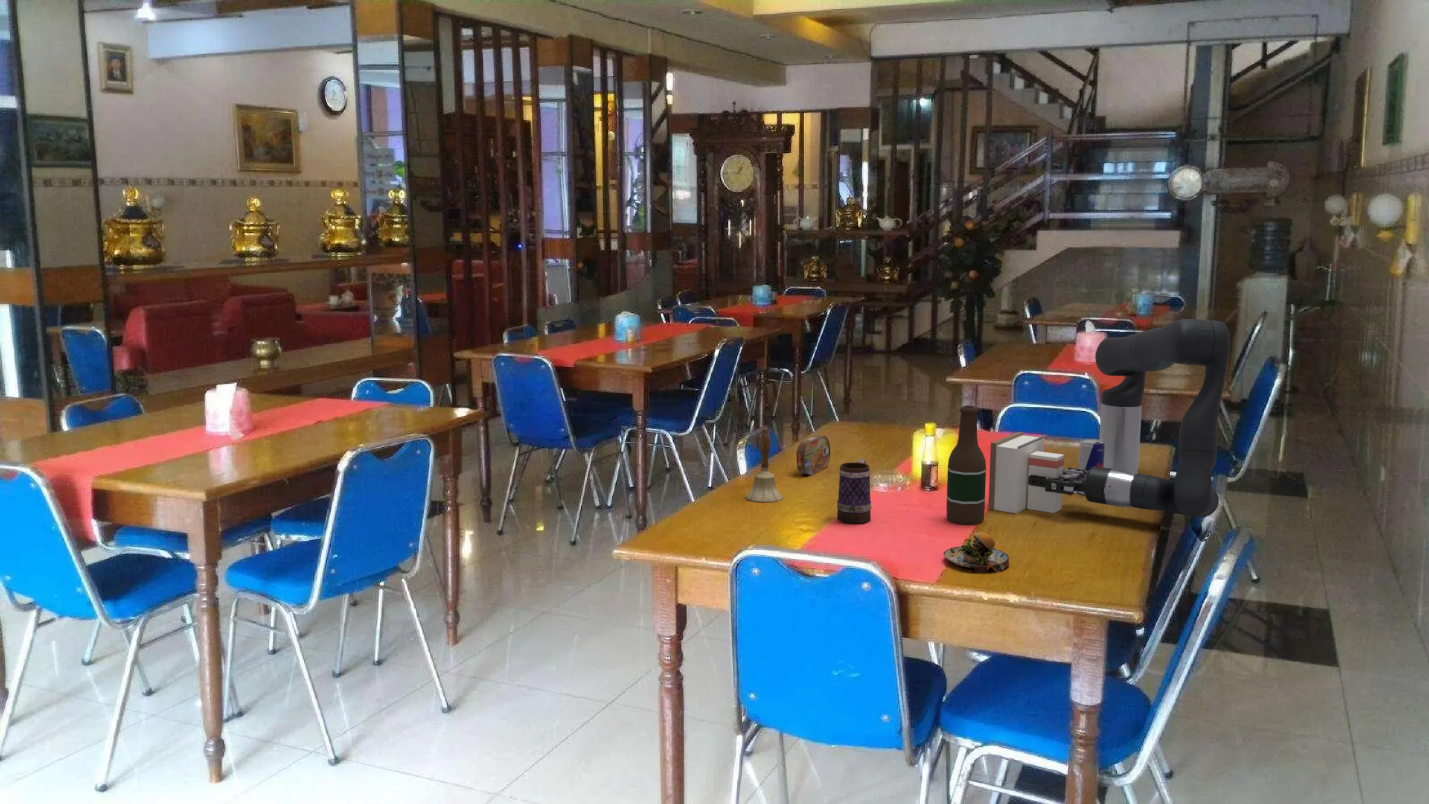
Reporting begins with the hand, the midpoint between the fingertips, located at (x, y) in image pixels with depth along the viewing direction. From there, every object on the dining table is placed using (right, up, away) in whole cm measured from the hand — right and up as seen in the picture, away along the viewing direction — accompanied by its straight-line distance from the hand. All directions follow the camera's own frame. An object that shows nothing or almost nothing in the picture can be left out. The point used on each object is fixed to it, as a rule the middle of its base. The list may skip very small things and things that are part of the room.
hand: (1036, 476), depth 244 cm
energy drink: (+16, -5, +13) cm, 21 cm away
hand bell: (-58, -6, +11) cm, 59 cm away
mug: (-40, -9, -6) cm, 41 cm away
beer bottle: (-17, -9, -8) cm, 21 cm away
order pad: (-3, -7, +4) cm, 8 cm away
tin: (-45, -1, +35) cm, 57 cm away
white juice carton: (+2, -7, 0) cm, 7 cm away
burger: (-21, -14, -36) cm, 44 cm away
